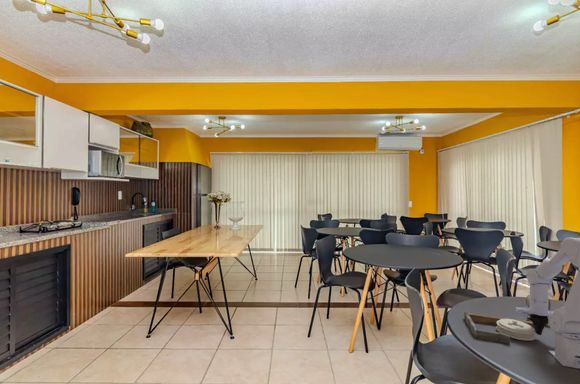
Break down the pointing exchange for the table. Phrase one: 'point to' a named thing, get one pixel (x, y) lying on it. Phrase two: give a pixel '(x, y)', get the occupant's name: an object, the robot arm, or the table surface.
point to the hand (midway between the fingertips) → (538, 333)
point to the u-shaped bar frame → (485, 334)
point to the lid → (516, 329)
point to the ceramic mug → (529, 302)
